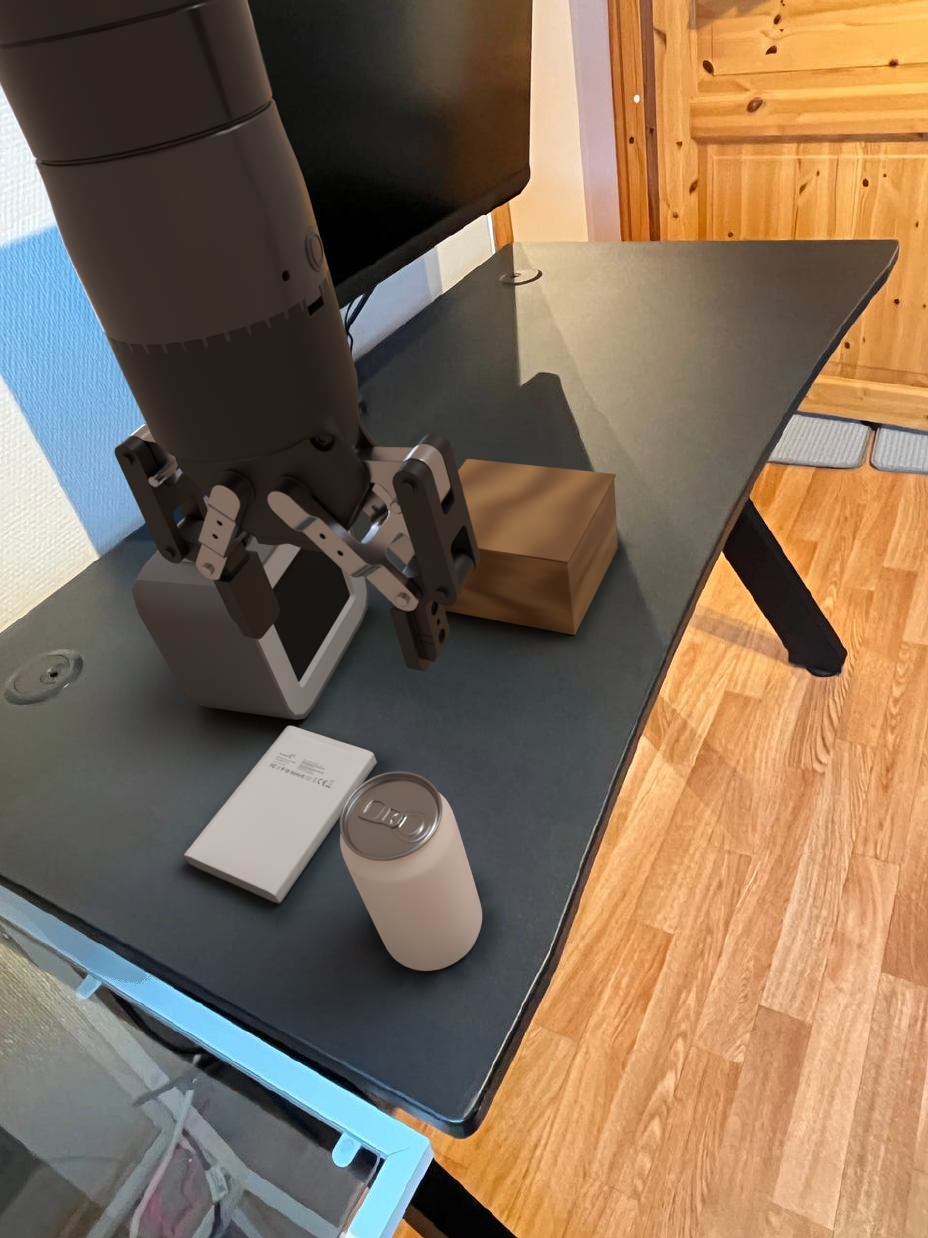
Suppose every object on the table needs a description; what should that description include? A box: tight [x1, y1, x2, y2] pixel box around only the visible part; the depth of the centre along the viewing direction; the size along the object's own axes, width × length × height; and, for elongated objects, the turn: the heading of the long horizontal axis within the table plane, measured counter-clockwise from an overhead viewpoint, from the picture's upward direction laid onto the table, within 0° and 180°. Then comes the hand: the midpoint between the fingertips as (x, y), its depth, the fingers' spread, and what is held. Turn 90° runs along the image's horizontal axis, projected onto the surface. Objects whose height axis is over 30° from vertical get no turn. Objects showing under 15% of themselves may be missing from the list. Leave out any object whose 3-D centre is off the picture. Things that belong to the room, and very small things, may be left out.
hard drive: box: [183, 725, 378, 905], centre depth 61 cm, size 2×8×12 cm
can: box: [339, 770, 483, 972], centre depth 49 cm, size 6×6×12 cm
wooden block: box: [444, 458, 619, 636], centre depth 74 cm, size 14×12×8 cm
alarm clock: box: [131, 495, 371, 721], centre depth 69 cm, size 16×11×16 cm
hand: (342, 641), depth 38 cm, fingers open, 8 cm apart
